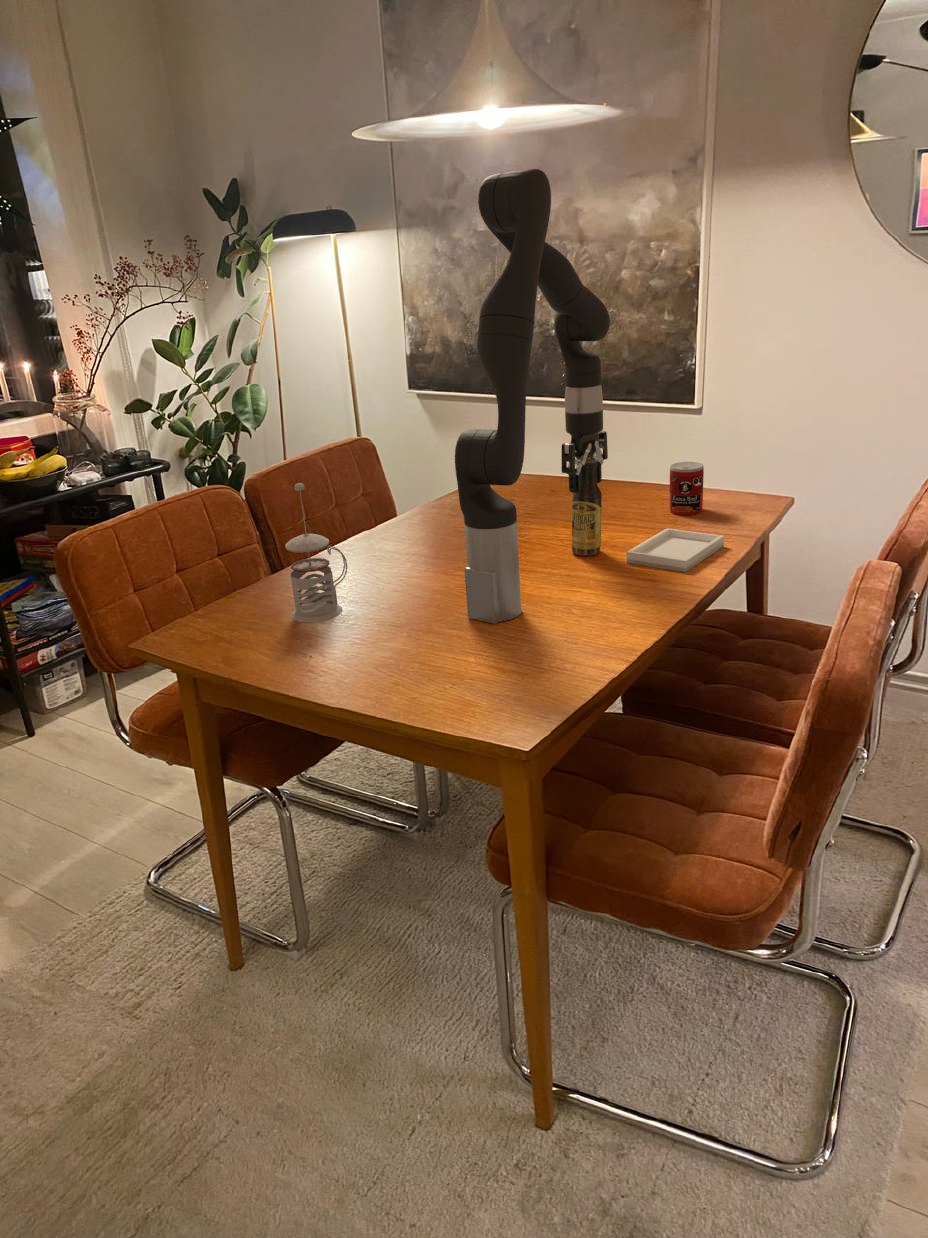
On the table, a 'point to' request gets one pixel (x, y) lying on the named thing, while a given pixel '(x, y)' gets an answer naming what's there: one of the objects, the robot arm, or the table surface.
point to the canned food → (686, 488)
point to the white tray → (675, 549)
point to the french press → (315, 603)
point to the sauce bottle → (587, 512)
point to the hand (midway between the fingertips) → (585, 487)
